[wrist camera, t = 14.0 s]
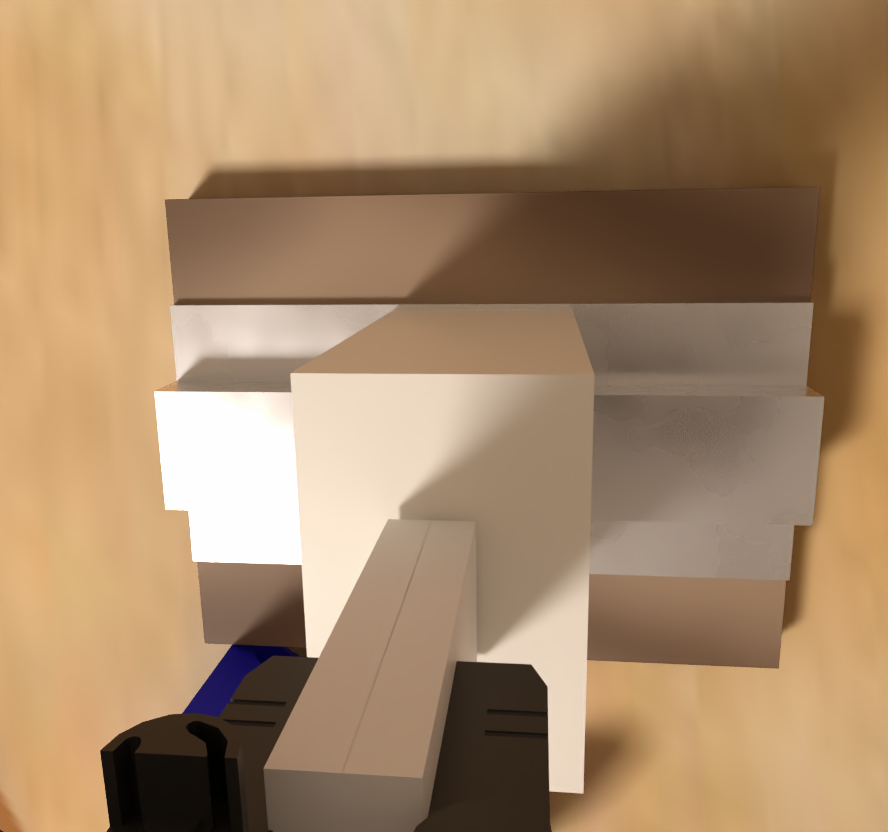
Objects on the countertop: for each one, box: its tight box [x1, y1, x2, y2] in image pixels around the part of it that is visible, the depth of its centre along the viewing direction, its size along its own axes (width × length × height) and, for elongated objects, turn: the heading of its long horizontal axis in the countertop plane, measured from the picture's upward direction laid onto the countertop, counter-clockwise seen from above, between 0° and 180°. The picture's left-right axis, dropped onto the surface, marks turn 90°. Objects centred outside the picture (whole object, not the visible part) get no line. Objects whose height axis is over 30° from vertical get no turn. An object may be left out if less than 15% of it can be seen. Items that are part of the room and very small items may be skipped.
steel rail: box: [154, 302, 825, 580], centre depth 24 cm, size 8×18×2 cm, turn 91°
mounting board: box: [165, 187, 820, 668], centre depth 25 cm, size 14×18×2 cm
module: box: [290, 309, 595, 793], centre depth 19 cm, size 8×5×10 cm, turn 1°
